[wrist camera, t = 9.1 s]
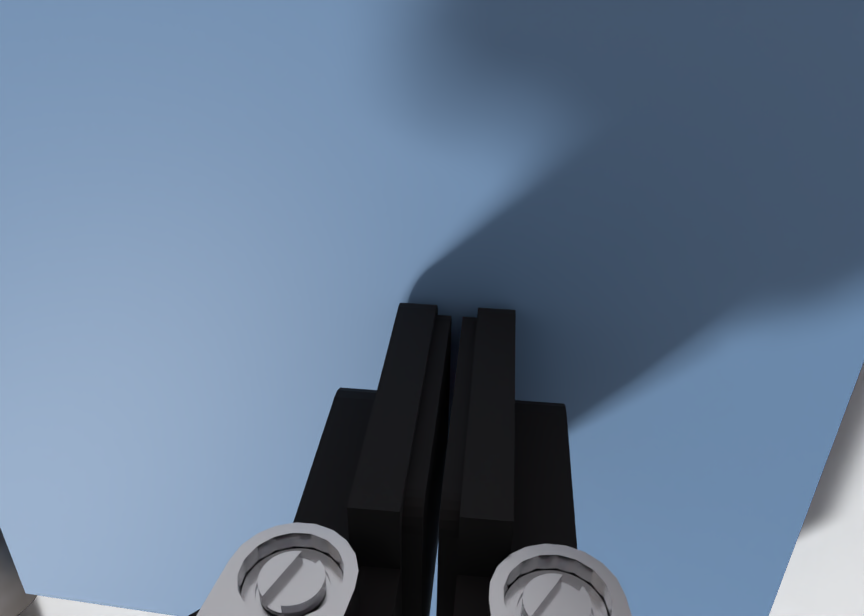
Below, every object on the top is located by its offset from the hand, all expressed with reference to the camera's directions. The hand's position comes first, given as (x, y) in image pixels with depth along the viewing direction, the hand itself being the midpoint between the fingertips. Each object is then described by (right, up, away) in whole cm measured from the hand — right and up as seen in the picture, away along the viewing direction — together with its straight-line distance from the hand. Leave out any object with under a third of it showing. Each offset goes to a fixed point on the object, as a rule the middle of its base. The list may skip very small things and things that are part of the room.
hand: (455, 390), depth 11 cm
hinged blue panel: (-2, +1, +2) cm, 3 cm away
